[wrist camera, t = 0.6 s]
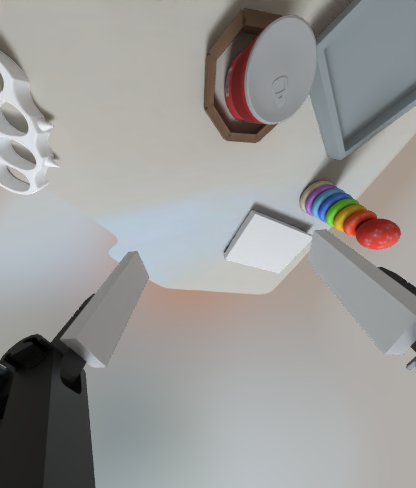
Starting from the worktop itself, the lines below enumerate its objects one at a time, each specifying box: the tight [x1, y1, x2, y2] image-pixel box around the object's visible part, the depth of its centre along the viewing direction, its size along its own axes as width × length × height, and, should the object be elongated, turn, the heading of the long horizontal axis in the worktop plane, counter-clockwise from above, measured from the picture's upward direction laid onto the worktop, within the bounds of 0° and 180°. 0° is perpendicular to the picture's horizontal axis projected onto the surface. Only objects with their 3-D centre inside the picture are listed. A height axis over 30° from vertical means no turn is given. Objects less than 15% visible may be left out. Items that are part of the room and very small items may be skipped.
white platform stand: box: [224, 210, 313, 273], centre depth 46 cm, size 15×3×20 cm
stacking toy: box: [300, 180, 401, 250], centre depth 32 cm, size 8×8×19 cm
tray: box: [309, 0, 416, 160], centre depth 24 cm, size 18×18×4 cm
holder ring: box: [204, 8, 283, 143], centre depth 24 cm, size 13×13×2 cm
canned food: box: [225, 15, 317, 124], centre depth 21 cm, size 8×8×11 cm
